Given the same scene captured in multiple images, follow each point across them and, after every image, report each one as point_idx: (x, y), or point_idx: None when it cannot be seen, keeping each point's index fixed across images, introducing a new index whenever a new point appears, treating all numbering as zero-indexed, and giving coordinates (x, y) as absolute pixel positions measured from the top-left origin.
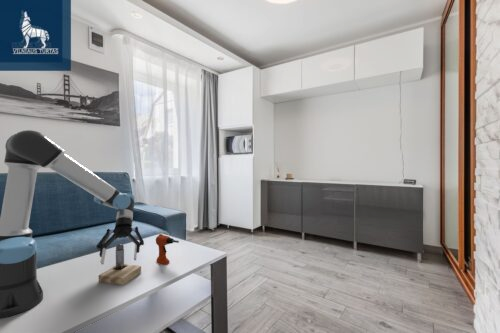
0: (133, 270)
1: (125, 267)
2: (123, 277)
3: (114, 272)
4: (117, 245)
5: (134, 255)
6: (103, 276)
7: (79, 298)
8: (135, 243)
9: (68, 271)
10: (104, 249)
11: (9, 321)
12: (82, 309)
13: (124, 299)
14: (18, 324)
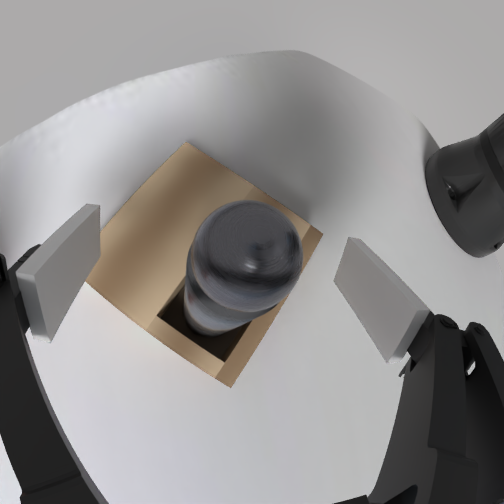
0: (123, 209)
1: (172, 287)
2: (183, 144)
3: None
4: (288, 222)
5: (87, 213)
6: (293, 215)
7: (332, 144)
8: (25, 340)
9: None
10: (408, 299)
11: (428, 136)
12: (297, 86)
13: (181, 75)
14: (405, 114)
